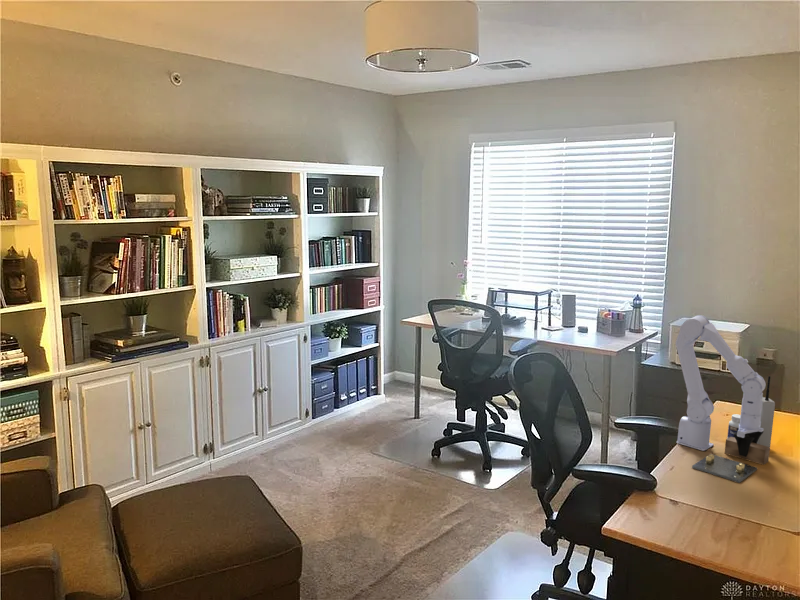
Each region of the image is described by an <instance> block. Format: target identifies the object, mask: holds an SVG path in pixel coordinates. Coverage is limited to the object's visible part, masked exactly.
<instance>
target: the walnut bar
mask: <svg viewBox="0 0 800 600" xmlns="http://www.w3.org/2000/svg"><path fill="white" fill-rule="evenodd" d="M770 451H771V446H770V447H768V446H764V445H760V444H757V443H753V442H751V445H750V447H749V451H748V454H747V456H746V457H745V456H741V455H739V451H738V445H737V441H736V439H735V438H734V437H729V438H728V439H727V438H726V439H725V448H724V454H725V453H726V455H729V454H730V455H729V456H731V457H735V456H736V458H740V459H742V458H743V459H742V460H746V461H749V460H750V461H749V462H754V463H757V464H759V465H763V466H764V465H765V464H767V463H768V462H769V459H770Z"/></svg>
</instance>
